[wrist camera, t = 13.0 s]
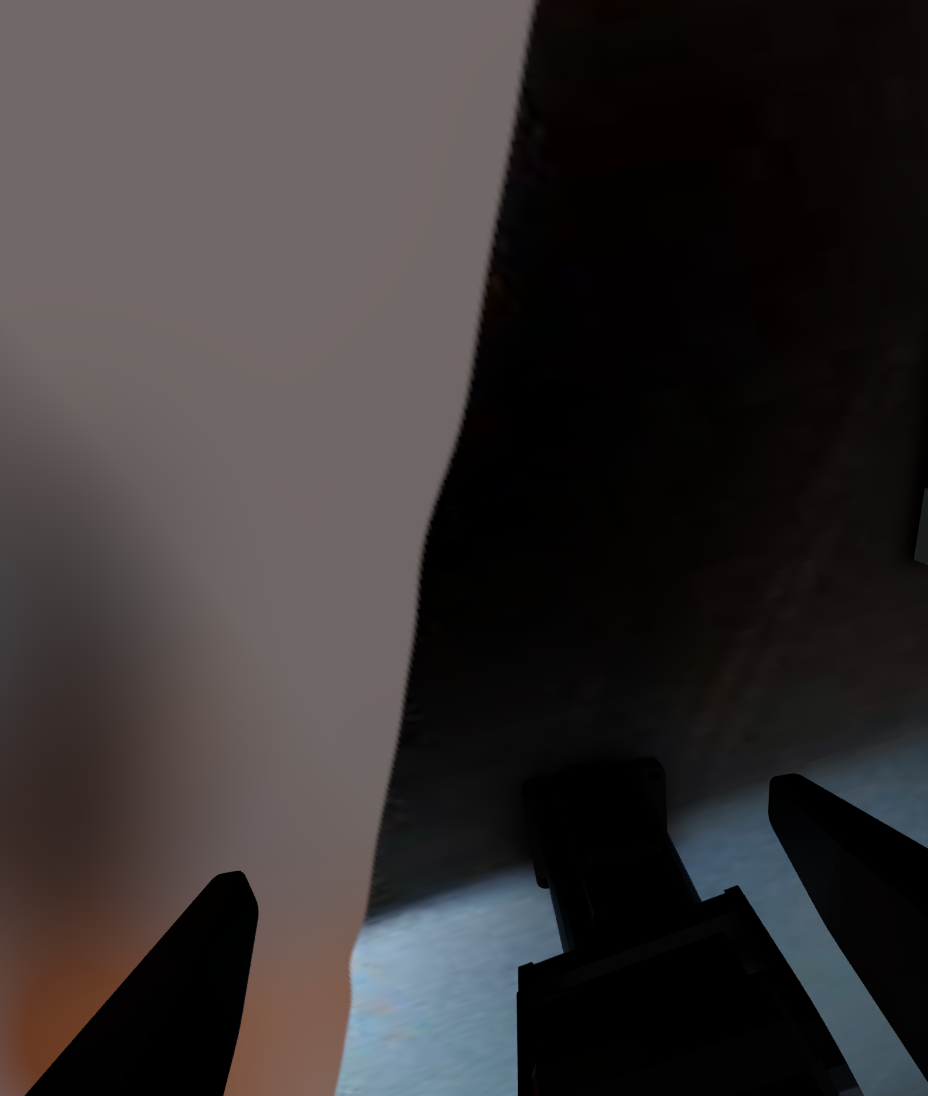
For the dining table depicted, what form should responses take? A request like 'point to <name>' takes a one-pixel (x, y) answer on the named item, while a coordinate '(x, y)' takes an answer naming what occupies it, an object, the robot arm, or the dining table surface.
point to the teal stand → (923, 533)
